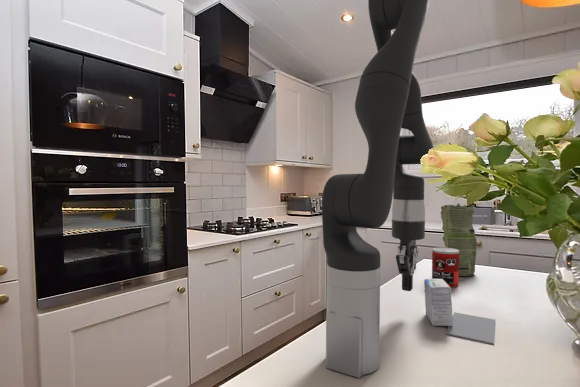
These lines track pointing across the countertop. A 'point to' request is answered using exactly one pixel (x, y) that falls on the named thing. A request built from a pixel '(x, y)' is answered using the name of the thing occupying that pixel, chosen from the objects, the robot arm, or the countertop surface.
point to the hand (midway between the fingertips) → (407, 289)
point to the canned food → (446, 265)
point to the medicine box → (438, 302)
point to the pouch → (460, 235)
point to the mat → (472, 328)
